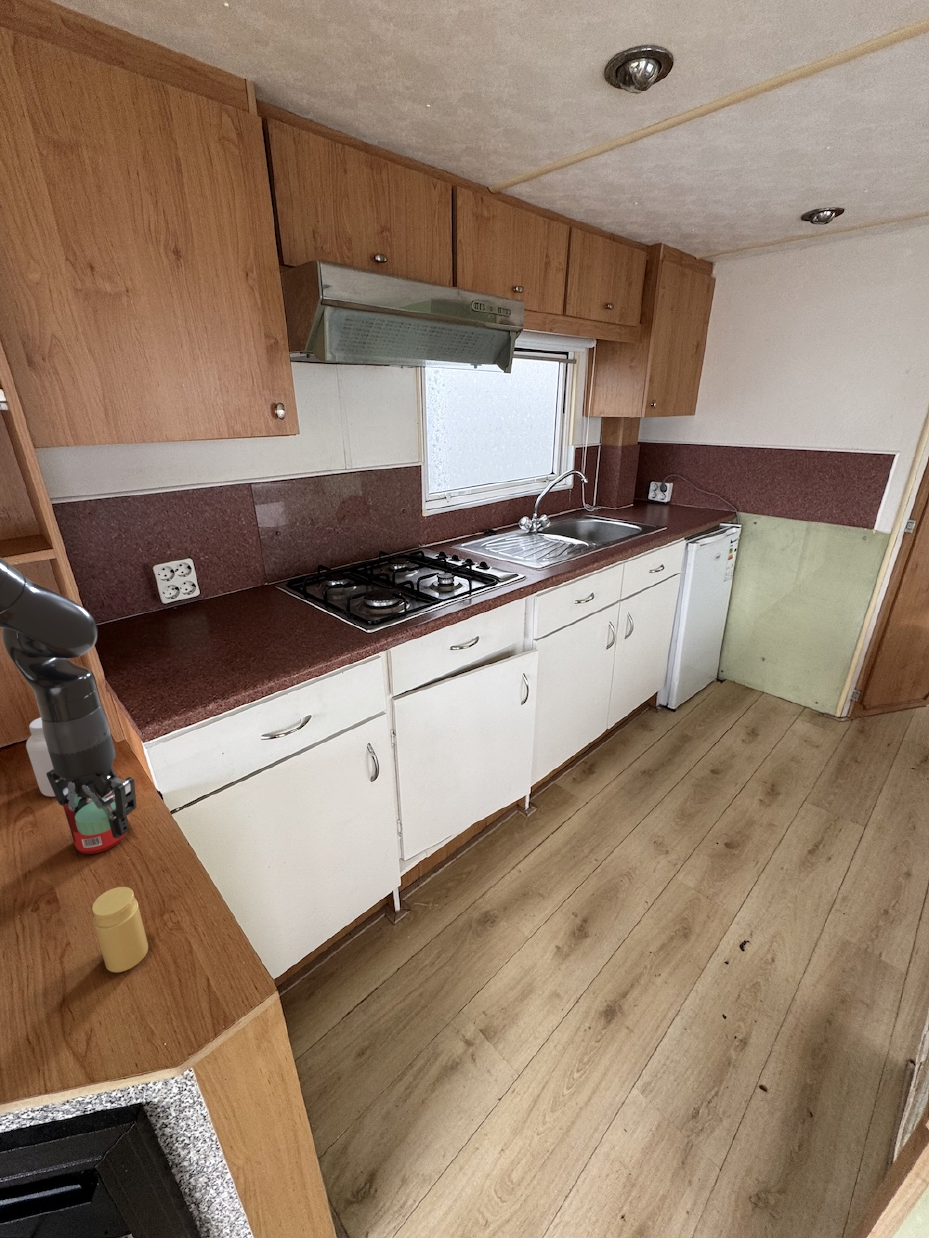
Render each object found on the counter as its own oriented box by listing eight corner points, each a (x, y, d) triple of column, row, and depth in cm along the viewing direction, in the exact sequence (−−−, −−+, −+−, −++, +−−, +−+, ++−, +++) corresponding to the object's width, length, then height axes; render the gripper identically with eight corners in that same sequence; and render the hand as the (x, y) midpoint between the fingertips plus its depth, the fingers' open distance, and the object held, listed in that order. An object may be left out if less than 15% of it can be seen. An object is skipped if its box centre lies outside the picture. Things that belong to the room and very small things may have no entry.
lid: (103, 806, 86) (99, 794, 85) (133, 812, 84) (130, 800, 84) (68, 832, 81) (64, 819, 80) (100, 838, 79) (96, 825, 78)
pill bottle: (35, 785, 109) (16, 720, 104) (82, 768, 114) (66, 706, 109) (45, 803, 104) (25, 736, 99) (93, 784, 109) (76, 720, 104)
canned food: (137, 834, 97) (125, 783, 93) (88, 862, 90) (73, 809, 87) (115, 817, 101) (103, 768, 97) (67, 843, 94) (52, 791, 90)
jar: (127, 976, 72) (112, 921, 69) (95, 967, 73) (79, 912, 70) (157, 942, 77) (144, 889, 73) (126, 934, 78) (113, 881, 75)
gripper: (141, 731, 79) (161, 823, 85) (63, 716, 82) (88, 806, 88) (96, 759, 72) (121, 857, 78) (14, 743, 76) (44, 838, 81)
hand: (104, 830), depth 83 cm, fingers closed on lid, 6 cm apart
